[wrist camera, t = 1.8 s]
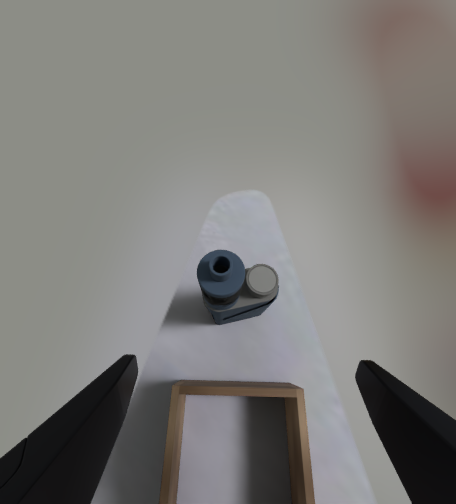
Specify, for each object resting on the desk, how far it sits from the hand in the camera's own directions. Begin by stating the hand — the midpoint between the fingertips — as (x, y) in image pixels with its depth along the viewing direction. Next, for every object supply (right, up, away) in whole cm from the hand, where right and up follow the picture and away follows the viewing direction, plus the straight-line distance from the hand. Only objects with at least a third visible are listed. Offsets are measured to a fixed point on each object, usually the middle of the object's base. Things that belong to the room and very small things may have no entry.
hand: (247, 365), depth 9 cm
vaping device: (0, -1, +12) cm, 12 cm away
